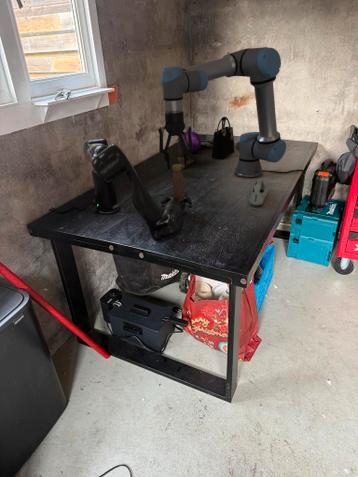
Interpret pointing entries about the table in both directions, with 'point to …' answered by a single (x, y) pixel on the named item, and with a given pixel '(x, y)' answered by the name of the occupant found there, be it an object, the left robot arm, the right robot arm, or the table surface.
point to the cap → (177, 167)
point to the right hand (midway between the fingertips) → (177, 168)
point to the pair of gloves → (207, 141)
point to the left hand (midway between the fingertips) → (179, 195)
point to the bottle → (178, 185)
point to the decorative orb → (194, 141)
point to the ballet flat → (258, 193)
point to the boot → (181, 152)
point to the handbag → (223, 140)
